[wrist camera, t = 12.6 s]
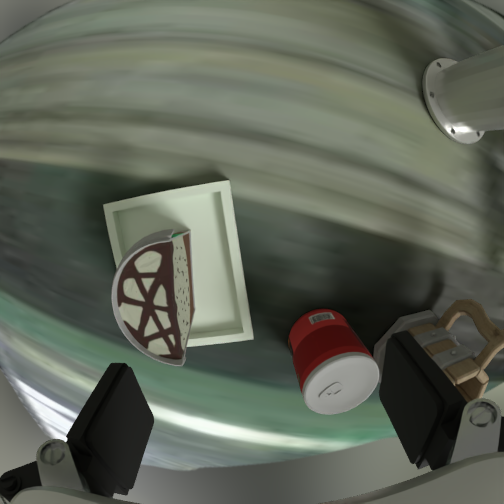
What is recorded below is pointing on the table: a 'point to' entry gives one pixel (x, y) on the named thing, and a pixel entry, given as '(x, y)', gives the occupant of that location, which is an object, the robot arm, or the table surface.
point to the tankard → (450, 345)
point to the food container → (157, 295)
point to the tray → (194, 252)
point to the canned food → (331, 362)
